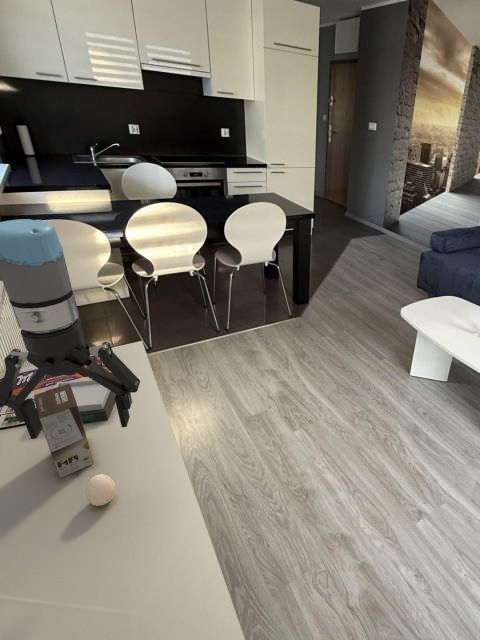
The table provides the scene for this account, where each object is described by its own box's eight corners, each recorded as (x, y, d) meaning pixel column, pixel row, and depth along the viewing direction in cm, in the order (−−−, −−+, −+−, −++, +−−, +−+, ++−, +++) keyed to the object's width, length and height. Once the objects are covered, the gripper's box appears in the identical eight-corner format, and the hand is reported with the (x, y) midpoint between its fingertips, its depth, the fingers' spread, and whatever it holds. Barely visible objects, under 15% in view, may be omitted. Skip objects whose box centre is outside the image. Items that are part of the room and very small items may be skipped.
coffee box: (95, 463, 86) (78, 406, 79) (59, 479, 82) (38, 419, 75) (86, 438, 92) (69, 382, 85) (52, 451, 88) (32, 394, 81)
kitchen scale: (40, 429, 93) (34, 413, 91) (59, 395, 103) (54, 381, 101) (107, 421, 97) (103, 405, 95) (120, 389, 107) (116, 375, 105)
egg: (83, 510, 76) (75, 486, 73) (100, 489, 80) (92, 465, 77) (108, 513, 76) (100, 489, 73) (123, 492, 80) (117, 468, 77)
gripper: (-68, 342, 54) (-15, 455, 63) (136, 328, 61) (156, 432, 70) (-36, 316, 60) (7, 422, 70) (145, 307, 67) (163, 404, 77)
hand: (82, 427), depth 70 cm, fingers open, 13 cm apart
